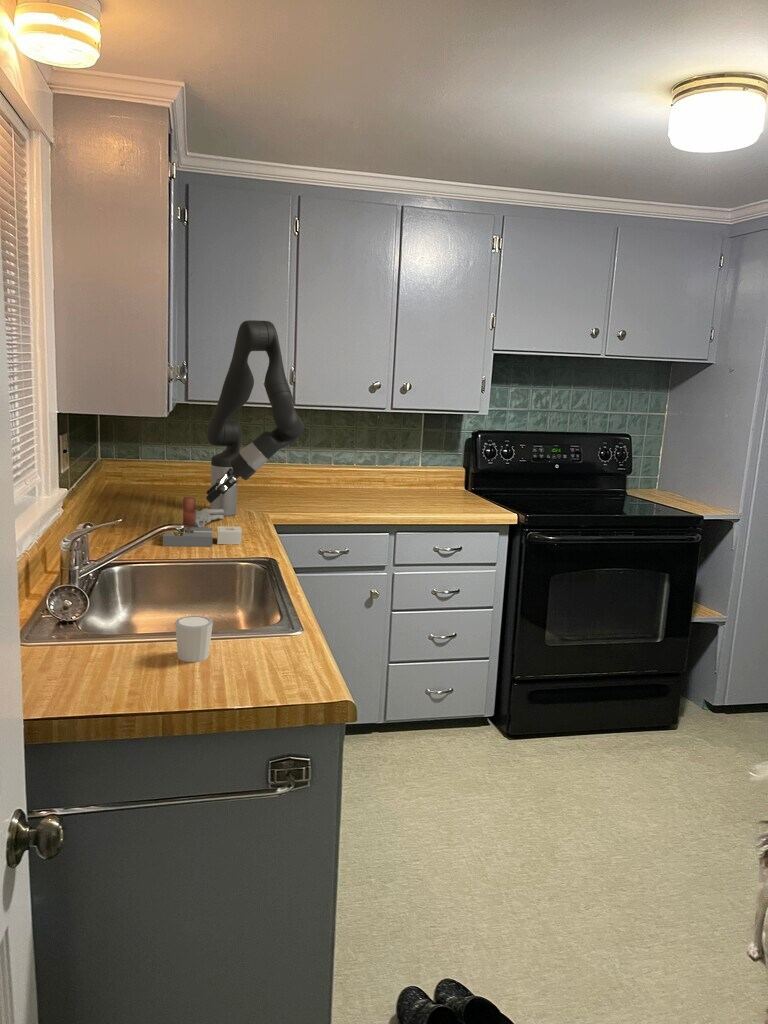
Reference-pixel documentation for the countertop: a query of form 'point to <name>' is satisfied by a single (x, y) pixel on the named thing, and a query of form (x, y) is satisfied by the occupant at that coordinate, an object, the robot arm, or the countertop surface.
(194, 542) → the grey flat block
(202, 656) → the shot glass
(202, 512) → the gun
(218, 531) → the block
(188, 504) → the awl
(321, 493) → the countertop surface
